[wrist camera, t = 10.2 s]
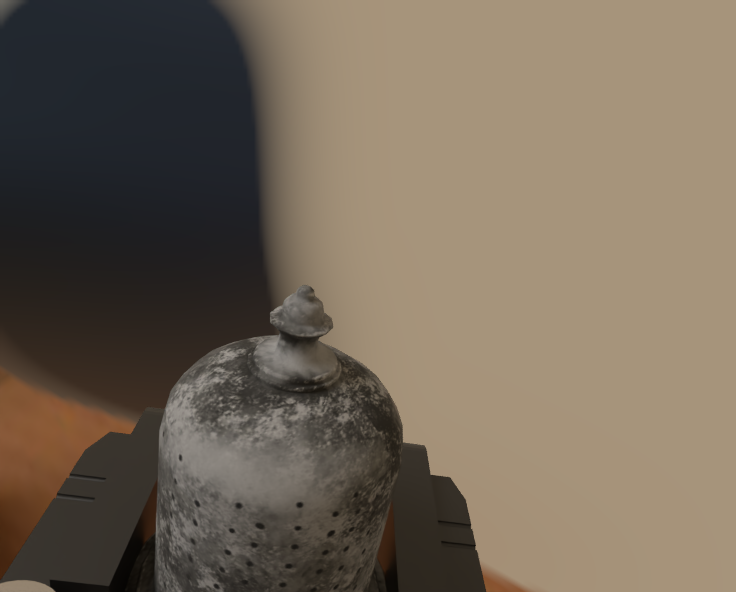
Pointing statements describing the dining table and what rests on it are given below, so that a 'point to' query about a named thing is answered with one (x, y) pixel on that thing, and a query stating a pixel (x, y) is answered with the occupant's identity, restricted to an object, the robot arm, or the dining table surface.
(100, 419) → the dining table surface
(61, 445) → the dining table surface
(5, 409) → the dining table surface
